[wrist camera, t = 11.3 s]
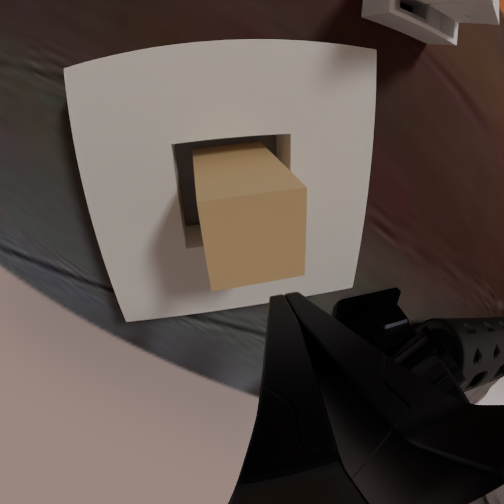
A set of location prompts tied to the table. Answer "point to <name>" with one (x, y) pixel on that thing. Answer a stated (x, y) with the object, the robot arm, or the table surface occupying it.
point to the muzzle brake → (472, 346)
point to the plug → (249, 215)
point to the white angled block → (431, 17)
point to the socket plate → (210, 135)
